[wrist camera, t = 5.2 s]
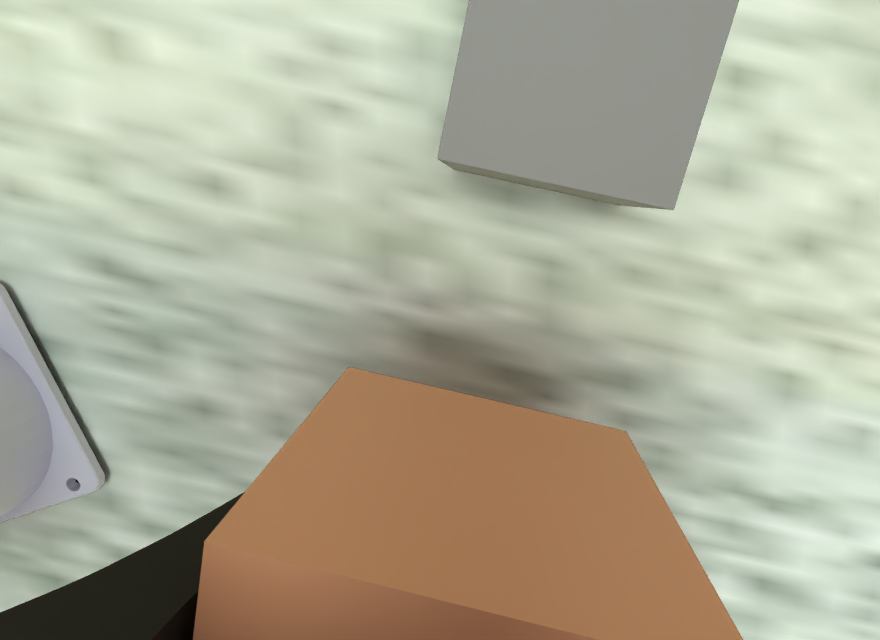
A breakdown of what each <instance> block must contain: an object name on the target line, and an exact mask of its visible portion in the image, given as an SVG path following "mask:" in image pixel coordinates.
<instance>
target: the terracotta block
mask: <svg viewBox="0 0 880 640" xmlns="http://www.w3.org/2000/svg"><path fill="white" fill-rule="evenodd" d="M193 640H743V638H742V637H741V635H740V633H739V631H738V630H737V628H736V626H735V624H734V622H733V621H732V619H731V617H730V615H729V614H728V612H727V610H726V608H725V606H724V605H723V603H722V601H721V599H720V598H719V596H718V594H717V592H716V590H715V589H714V587H713V585H712V583H711V582H710V580H709V578H708V576H707V574H706V573H705V571H704V569H703V567H702V566H701V564H700V562H699V560H698V558H697V557H696V555H695V553H694V551H693V550H692V548H691V546H690V544H689V542H688V541H687V539H686V537H685V535H684V534H683V532H682V530H681V528H680V526H679V525H678V523H677V521H676V519H675V518H674V516H673V514H672V512H671V510H670V509H669V507H668V505H667V503H666V501H665V500H664V498H663V496H662V494H661V493H660V491H659V489H658V487H657V485H656V484H655V482H654V480H653V478H652V477H651V475H650V473H649V471H648V469H647V468H646V466H645V464H644V462H643V461H642V459H641V457H640V455H639V453H638V452H637V450H636V448H635V446H634V445H633V443H632V441H631V439H630V437H629V436H628V434H627V432H626V431H623V430H618V429H614V428H610V427H605V426H601V425H597V424H592V423H588V422H584V421H580V420H575V419H571V418H567V417H562V416H558V415H554V414H549V413H545V412H541V411H536V410H532V409H528V408H524V407H519V406H515V405H511V404H506V403H502V402H498V401H493V400H489V399H485V398H481V397H476V396H472V395H468V394H463V393H459V392H455V391H450V390H446V389H442V388H437V387H433V386H429V385H425V384H420V383H416V382H412V381H407V380H403V379H399V378H394V377H390V376H386V375H382V374H377V373H373V372H369V371H364V370H360V369H356V368H351V367H348V369H347V370H346V371H345V372H344V374H343V375H342V376H341V377H340V378H339V380H338V381H337V382H336V383H335V384H334V386H333V387H332V388H331V389H330V390H329V392H328V393H327V394H326V395H325V396H324V398H323V399H322V400H321V401H320V402H319V404H318V405H317V406H316V407H315V408H314V410H313V411H312V412H311V413H310V414H309V416H308V417H307V418H306V419H305V421H304V422H303V423H302V424H301V425H300V427H299V428H298V429H297V430H296V431H295V433H294V434H293V435H292V436H291V437H290V439H289V440H288V441H287V442H286V443H285V445H284V446H283V447H282V448H281V449H280V451H279V452H278V453H277V454H276V455H275V457H274V458H273V459H272V460H271V461H270V463H269V464H268V465H267V466H266V467H265V469H264V470H263V471H262V472H261V474H260V475H259V476H258V477H257V478H256V480H255V481H254V482H253V483H252V484H251V486H250V487H249V488H248V489H247V490H246V492H245V493H244V494H243V495H242V496H241V498H240V499H239V500H238V501H237V502H236V504H235V505H234V506H233V507H232V508H231V510H230V511H229V512H228V513H227V514H226V516H225V517H224V518H223V519H222V521H221V522H220V523H219V524H218V525H217V527H216V528H215V529H214V530H213V531H212V533H211V534H210V535H209V536H208V537H207V539H206V540H205V541H204V548H203V557H202V566H201V574H200V583H199V591H198V600H197V608H196V617H195V625H194V634H193Z"/></svg>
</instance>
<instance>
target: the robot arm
mask: <svg viewBox="0 0 880 640" xmlns="http://www.w3.org/2000/svg"><path fill="white" fill-rule="evenodd" d="M75 479H77V480H78V482H79V483H80V485H79V484H78V483H77V482H76V481H75ZM104 482H105V475H104V472H103V470H102V468H101V466H100V465H99V463H98V461H97V459H96V457H95V455H94V453H93V451H92V450H91V448H90V446H89V444H88V442H87V440H86V438H85V436H84V435H83V433H82V431H81V429H80V427H79V425H78V423H77V421H76V420H75V418H74V416H73V414H72V412H71V410H70V408H69V406H68V405H67V403H66V401H65V399H64V397H63V395H62V393H61V391H60V390H59V388H58V386H57V384H56V382H55V380H54V378H53V376H52V375H51V373H50V371H49V369H48V367H47V365H46V363H45V361H44V360H43V358H42V356H41V354H40V352H39V350H38V348H37V346H36V344H35V343H34V341H33V339H32V337H31V335H30V333H29V331H28V329H27V328H26V326H25V324H24V322H23V320H22V318H21V316H20V314H19V313H18V311H17V309H16V307H15V305H14V303H13V301H12V299H11V298H10V296H9V294H8V292H7V290H6V289H5V288H4V286H3V285H2V284H0V522H3V521H6V520H9V519H13V518H16V517H19V516H22V515H25V514H28V513H31V512H34V511H37V510H40V509H43V508H46V507H49V506H52V505H55V504H58V503H61V502H64V501H68V500H71V499H74V498H77V497H80V496H83V495H86V494H89V493H92V492H94V491H96V490H97V489H98V488H100V487H101V486H102V485H103V484H104ZM245 492H246V491H245ZM245 492H244V493H245ZM244 493H242V494H240V495H239V496H237V497H235V498H234V499H232V500H230V501H228V502H227V503H225V504H223V505H222V506H220V507H218V508H216V509H215V510H213V511H211V512H210V513H208V514H206V515H204V516H203V517H201V518H199V519H197V520H195V521H194V522H192V523H190V524H188V525H186V526H185V527H183V528H181V529H179V530H178V531H176V532H174V533H172V534H170V535H168V536H166V537H165V538H163V539H161V540H159V541H157V542H155V543H153V544H151V545H149V546H147V547H145V548H143V549H141V550H139V551H137V552H135V553H133V554H131V555H129V556H127V557H125V558H123V559H121V560H119V561H117V562H115V563H113V564H111V565H109V566H107V567H105V568H103V569H101V570H99V571H97V572H94V573H92V574H90V575H88V576H86V577H84V578H81V579H79V580H77V581H75V582H72V583H70V584H68V585H66V586H63V587H61V588H59V589H57V590H54V591H52V592H49V593H47V594H44V595H42V596H40V597H37V598H35V599H32V600H30V601H28V602H25V603H23V604H20V605H18V606H15V607H13V608H11V609H8V610H6V611H3V612H0V640H193V634H194V625H195V617H196V608H197V600H198V591H199V583H200V574H201V566H202V557H203V548H204V541H205V540H206V539H207V537H208V536H209V535H210V534H211V533H212V531H213V530H214V529H215V528H216V527H217V525H218V524H219V523H220V522H221V521H222V519H223V518H224V517H225V516H226V514H227V513H228V512H229V511H230V510H231V508H232V507H233V506H234V505H235V504H236V502H237V501H238V500H239V499H240V498H241V496H242V495H243V494H244Z"/></svg>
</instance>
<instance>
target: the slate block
mask: <svg viewBox="0 0 880 640" xmlns="http://www.w3.org/2000/svg"><path fill="white" fill-rule="evenodd" d="M738 2H739V0H469V4H468V8H467V13H466V18H465V23H464V28H463V33H462V38H461V43H460V48H459V53H458V58H457V63H456V68H455V73H454V78H453V83H452V88H451V93H450V98H449V103H448V108H447V113H446V117H445V122H444V127H443V132H442V137H441V142H440V147H439V152H438V157H437V159H438V160H440V161H442V162H443V163H445V164H446V165H448V166H449V167H451V168H452V169H455V170H460V171H464V172H469V173H473V174H478V175H483V176H487V177H492V178H496V179H501V180H506V181H510V182H515V183H519V184H524V185H529V186H533V187H538V188H543V189H547V190H552V191H556V192H561V193H566V194H570V195H575V196H579V197H584V198H589V199H593V200H598V201H602V202H607V203H612V204H616V205H623V206H634V207H646V208H657V209H669V210H674V208H675V204H676V201H677V198H678V195H679V191H680V188H681V185H682V182H683V179H684V175H685V172H686V169H687V166H688V163H689V159H690V156H691V153H692V150H693V147H694V143H695V140H696V137H697V134H698V131H699V127H700V124H701V121H702V118H703V115H704V111H705V108H706V105H707V102H708V99H709V95H710V92H711V89H712V86H713V82H714V79H715V76H716V73H717V70H718V66H719V63H720V60H721V57H722V54H723V50H724V47H725V44H726V41H727V38H728V34H729V31H730V28H731V25H732V22H733V18H734V15H735V12H736V9H737V6H738Z"/></svg>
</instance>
